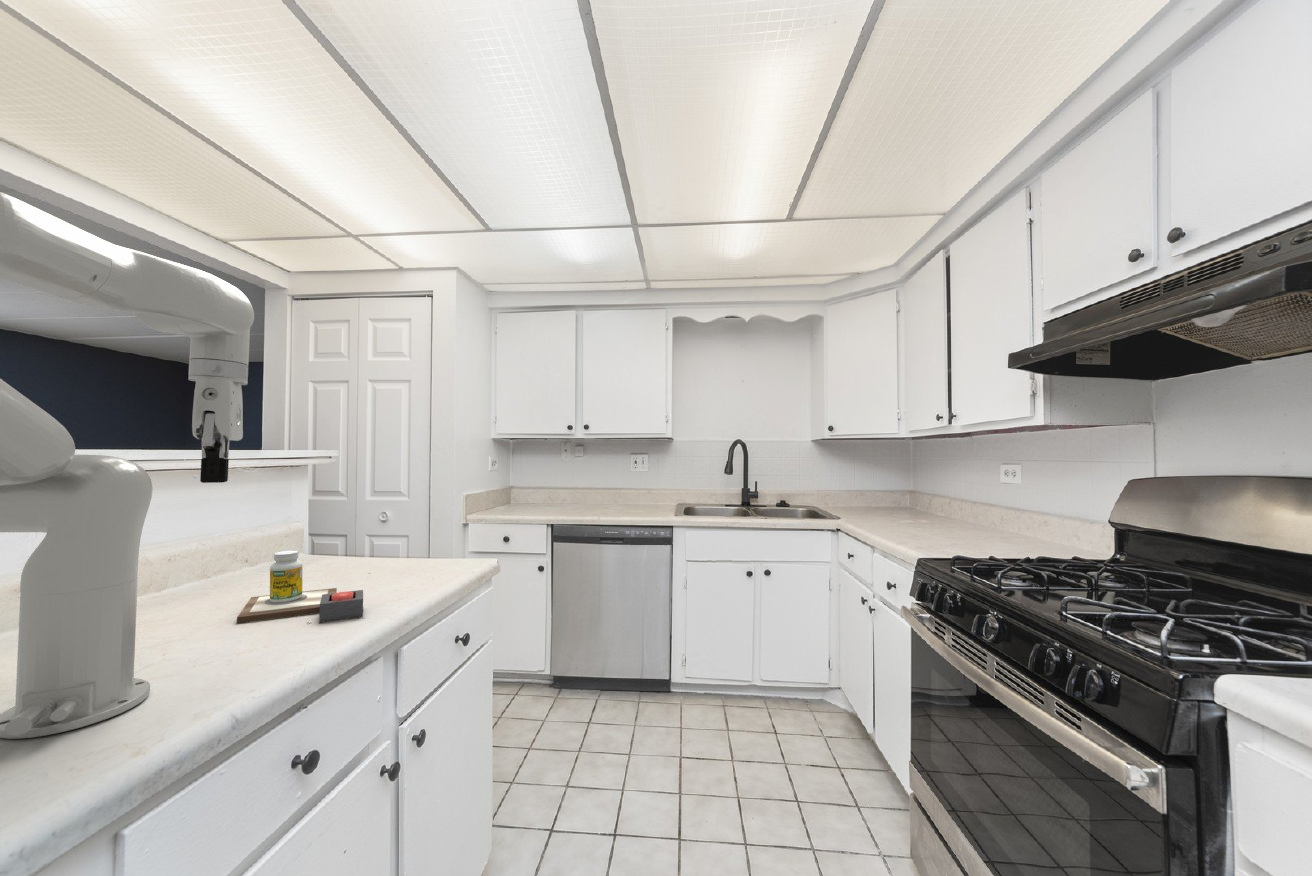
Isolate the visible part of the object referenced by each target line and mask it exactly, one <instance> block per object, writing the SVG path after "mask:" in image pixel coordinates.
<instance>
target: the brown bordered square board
mask: <svg viewBox="0 0 1312 876" xmlns="http://www.w3.org/2000/svg"><path fill="white" fill-rule="evenodd" d="M337 589H338V588H337V587H333V588H332V587H331V588H323V589H313V590H305V591H303V590H302V597H301V598H299V599H297V600H293V601H289V602H283V603H274V602H271V601H270V594H269V595H259V596H251V597H250V599H249V600H248V601H247V603H246V604H245V606H244V607H243V608H242V610H241V611H240V612H239V614H238V615H237V617H236V624H246V623H253V622H261V621H268V620H269V621H270V620H276V619H284V618H293V617H301V616H308V615H315V614H320V602H321V598H322V594H331V593H338V592H337Z"/></svg>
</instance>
